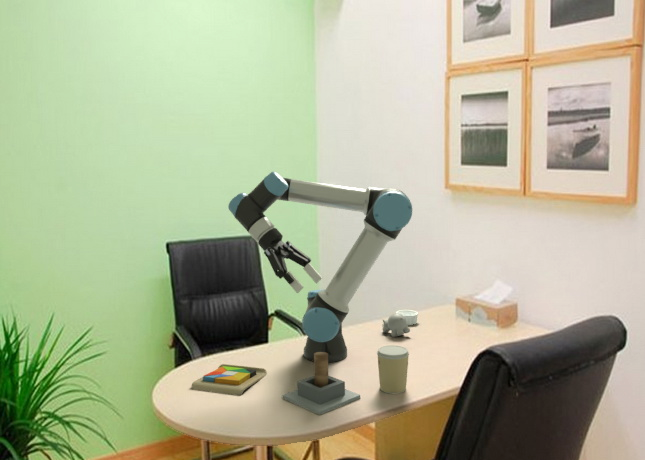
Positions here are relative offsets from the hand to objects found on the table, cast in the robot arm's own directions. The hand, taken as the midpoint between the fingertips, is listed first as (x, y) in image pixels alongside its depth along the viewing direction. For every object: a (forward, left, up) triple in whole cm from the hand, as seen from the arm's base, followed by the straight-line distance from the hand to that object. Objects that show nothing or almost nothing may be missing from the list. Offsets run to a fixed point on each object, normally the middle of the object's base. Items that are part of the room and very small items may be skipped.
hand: (310, 285), depth 195 cm
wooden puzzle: (-16, -20, -30) cm, 40 cm away
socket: (+14, -9, -30) cm, 34 cm away
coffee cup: (+24, +11, -30) cm, 40 cm away
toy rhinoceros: (-10, +51, -30) cm, 60 cm away
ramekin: (-17, +67, -30) cm, 76 cm away
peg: (+14, -9, -29) cm, 33 cm away
